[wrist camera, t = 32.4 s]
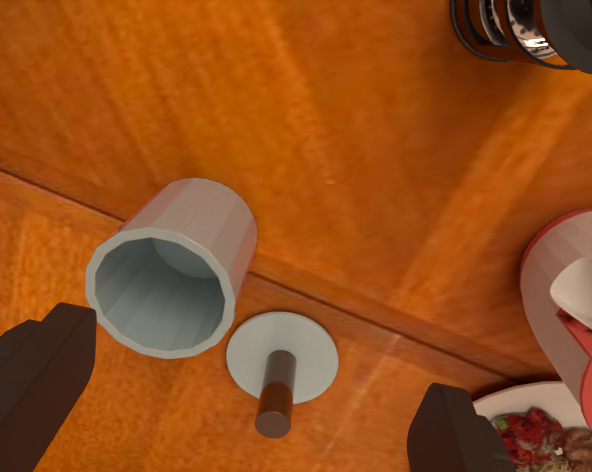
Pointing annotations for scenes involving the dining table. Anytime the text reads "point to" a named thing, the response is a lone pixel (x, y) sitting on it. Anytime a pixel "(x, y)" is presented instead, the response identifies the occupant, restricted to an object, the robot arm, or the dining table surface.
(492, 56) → the french press
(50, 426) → the robot arm
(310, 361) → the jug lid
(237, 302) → the grey cup
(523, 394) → the plated food
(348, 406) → the dining table surface
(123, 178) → the dining table surface
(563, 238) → the citrus juicer
